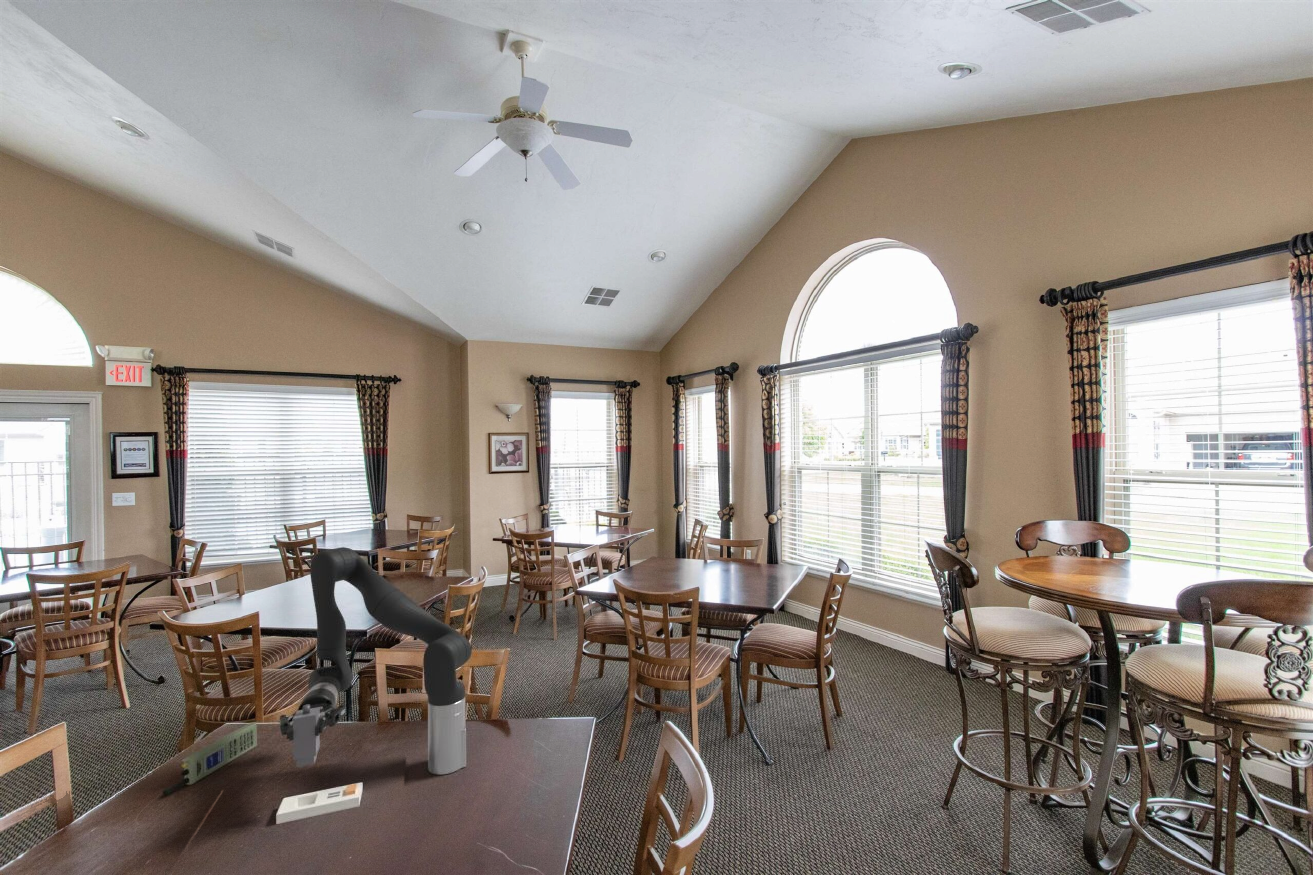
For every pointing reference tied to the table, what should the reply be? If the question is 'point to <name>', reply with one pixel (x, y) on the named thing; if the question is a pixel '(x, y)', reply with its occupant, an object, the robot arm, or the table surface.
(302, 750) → the charger
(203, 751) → the handheld radio
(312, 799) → the power strip
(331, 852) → the table surface
